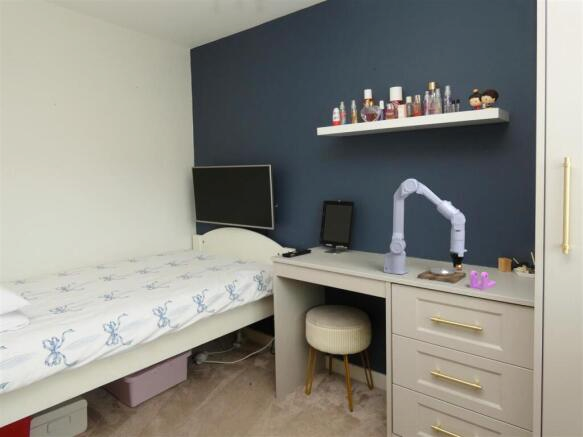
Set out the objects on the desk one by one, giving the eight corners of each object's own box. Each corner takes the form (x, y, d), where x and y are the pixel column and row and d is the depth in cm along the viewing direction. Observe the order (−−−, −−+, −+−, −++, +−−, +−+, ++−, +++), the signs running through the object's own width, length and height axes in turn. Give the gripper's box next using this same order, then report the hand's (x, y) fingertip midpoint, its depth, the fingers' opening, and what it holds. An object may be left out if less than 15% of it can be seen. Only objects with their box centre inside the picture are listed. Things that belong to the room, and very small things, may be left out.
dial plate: (417, 278, 188) (417, 274, 188) (430, 271, 201) (430, 268, 201) (455, 283, 179) (455, 279, 179) (466, 276, 192) (466, 272, 192)
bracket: (483, 290, 167) (484, 273, 167) (469, 288, 171) (470, 271, 171) (497, 285, 176) (498, 268, 175) (484, 282, 180) (484, 266, 179)
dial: (431, 275, 186) (432, 266, 185) (428, 270, 196) (429, 261, 195) (464, 276, 183) (464, 267, 183) (459, 271, 193) (459, 262, 193)
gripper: (471, 242, 182) (470, 273, 183) (463, 237, 196) (462, 267, 197) (453, 242, 183) (453, 273, 184) (447, 237, 197) (446, 266, 199)
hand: (456, 270), depth 191 cm, fingers closed
